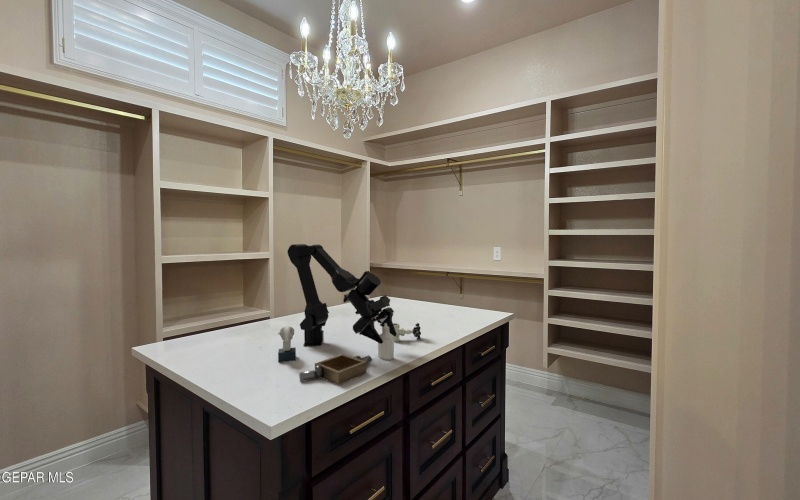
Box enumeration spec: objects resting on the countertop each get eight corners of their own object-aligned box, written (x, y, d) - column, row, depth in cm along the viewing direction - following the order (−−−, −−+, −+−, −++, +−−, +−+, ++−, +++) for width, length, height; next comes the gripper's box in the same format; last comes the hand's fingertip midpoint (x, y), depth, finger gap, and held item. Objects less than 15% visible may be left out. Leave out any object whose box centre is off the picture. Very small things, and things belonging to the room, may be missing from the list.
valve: (390, 343, 135) (421, 342, 137) (390, 326, 134) (421, 325, 136) (388, 338, 141) (417, 337, 143) (388, 322, 141) (417, 321, 143)
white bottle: (383, 361, 116) (383, 326, 115) (376, 356, 121) (376, 322, 120) (395, 359, 118) (395, 324, 117) (388, 354, 123) (388, 320, 122)
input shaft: (359, 369, 109) (359, 358, 109) (351, 366, 111) (351, 355, 111) (373, 363, 114) (373, 353, 114) (365, 361, 116) (365, 350, 116)
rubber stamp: (295, 354, 123) (295, 323, 122) (295, 362, 115) (295, 329, 115) (279, 355, 121) (278, 324, 121) (277, 364, 114) (277, 331, 113)
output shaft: (320, 375, 105) (320, 363, 105) (322, 379, 102) (322, 367, 101) (299, 378, 102) (298, 366, 102) (300, 383, 99) (300, 371, 99)
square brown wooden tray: (338, 385, 98) (338, 373, 98) (314, 375, 105) (314, 363, 105) (366, 373, 106) (366, 361, 106) (342, 364, 113) (342, 353, 113)
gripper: (359, 293, 112) (389, 331, 107) (389, 285, 128) (416, 318, 123) (340, 314, 116) (368, 352, 111) (371, 304, 132) (397, 337, 127)
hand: (389, 339), depth 118 cm, fingers open, 9 cm apart
